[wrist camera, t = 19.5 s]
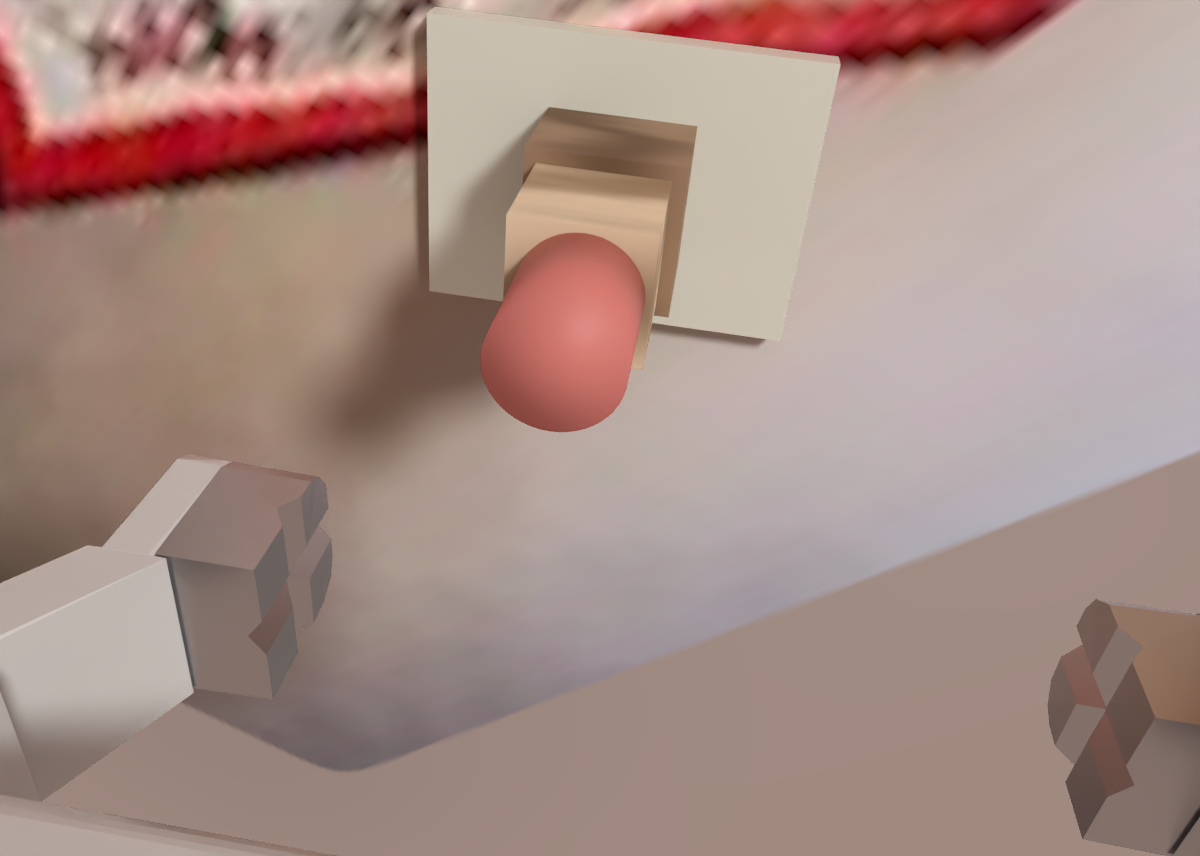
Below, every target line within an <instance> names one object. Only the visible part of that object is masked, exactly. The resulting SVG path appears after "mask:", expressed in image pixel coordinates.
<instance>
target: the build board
mask: <svg viewBox="0 0 1200 856" xmlns="http://www.w3.org/2000/svg"><path fill="white" fill-rule="evenodd" d="M839 69H840V60H839V57H837V56H829V55H821V54H813V53H805V52H797V51H789V50H781V49H773V48H765V47H757V46H749V45H741V44H733V43H724V42H716V41H708V40H700V39H692V38H684V37H676V36H668V35H660V34H652V33H644V32H636V31H628V30H620V29H612V28H604V27H595V26H587V25H579V24H571V23H563V22H555V21H547V20H539V19H531V18H523V17H515V16H507V15H499V14H491V13H483V12H475V11H466V10H458V9H450V8H442V7H434V8H433V9H431V10H430V11H429V12H427V100H428V200H429V291H432V292H439V293H446V294H453V295H460V296H467V297H474V298H481V299H488V300H495V301H502V302H503V292H504V265H505V238H506V214H507V213H508V211H509V209H510V207H511V206H512V204H513V202H514V200H515V199H516V197H517V195H518V193H519V192H520V190H521V188H522V186H523V164H524V147H525V145H526V143H527V142H528V140H529V138H530V137H531V135H532V134H533V132H534V130H535V129H536V127H537V126H538V124H539V122H540V121H541V119H542V117H543V116H544V114H545V113H546V111H547V109H548V108H549V107H553V108H561V109H569V110H576V111H584V112H592V113H600V114H607V115H615V116H623V117H630V118H638V119H646V120H653V121H661V122H669V123H676V124H684V125H692V126H698V127H697V134H696V141H695V148H694V155H693V162H692V169H691V176H690V183H689V190H688V197H687V204H686V211H685V218H684V225H683V232H682V239H681V246H680V253H679V260H678V266H677V272H676V278H675V283H674V289H673V295H672V301H671V306H670V312H669V318H668V317H661V316H654V317H653V322H652V323H656V324H663V325H670V326H677V327H684V328H691V329H698V330H705V331H712V332H719V333H726V334H733V335H740V336H747V337H754V338H761V339H768V340H775V341H781V338H782V333H783V329H784V324H785V319H786V315H787V310H788V305H789V301H790V296H791V292H792V287H793V282H794V278H795V273H796V268H797V264H798V259H799V254H800V250H801V245H802V241H803V236H804V231H805V227H806V222H807V217H808V213H809V208H810V203H811V199H812V194H813V190H814V185H815V180H816V176H817V171H818V166H819V162H820V157H821V152H822V148H823V143H824V139H825V134H826V129H827V125H828V120H829V115H830V111H831V106H832V101H833V97H834V92H835V88H836V83H837V78H838V74H839Z"/></svg>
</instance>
